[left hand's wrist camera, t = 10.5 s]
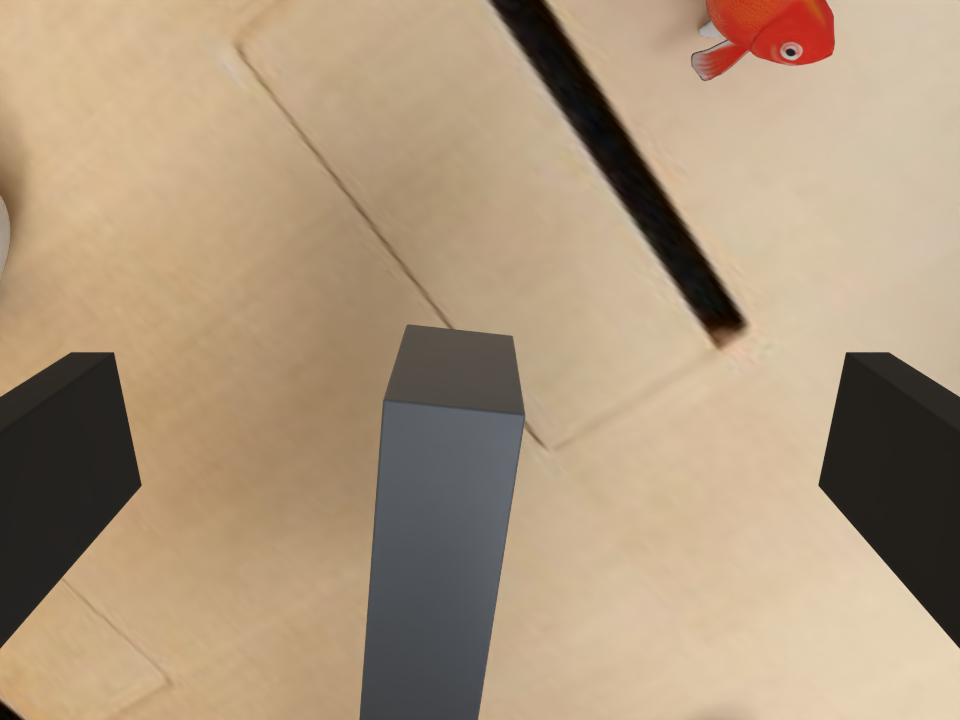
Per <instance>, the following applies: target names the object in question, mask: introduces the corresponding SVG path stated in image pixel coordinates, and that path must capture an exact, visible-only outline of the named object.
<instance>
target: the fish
mask: <svg viewBox="0 0 960 720" xmlns="http://www.w3.org/2000/svg"><path fill="white" fill-rule="evenodd" d="M706 5H707V10H708V13H709V16H710V20H709V21H708V22H707V23H706V24H705V25H703V26H702V27H701V28H700V29H699V34H700V35H701V36H704V37H711V38H722V39H727V40H726V41H724V42H722V43H719V44H717V45H716V46H714V47H712V48H710V49H707V50H704V51H700V52H696V53H693V54H692V57H691V62H692V67H693V68H694V70H695V71H696V72H697V73H698V75H699V76H700V78H701V79H702V80H704V81H707V80H711V79H712V78H714V77H716V76H718V75H721V74H723V73H724V72H725V71H727V70H728V69H729V68H730V67H732V66H733V65H734V64H735V63H736V62H737V61H739V60H740V59H741V58H742V57H743V56H744V55H745V54H746V53H747V52H749V51H750V52H752V54H754V55H755V56H756V57H759V58H762V59H766V60H769V61H772V62H776V63H780V64H785V65H789V66H794V65H804V64H810V63H814V62H817V61H820V60H823V59H825V58H827V57H829V56H831V55H832V53H833V50H834V45H835V39H834V16H833V13H832V11H831V9H830V8H829V6H828V4H827V2H826V0H706Z"/></svg>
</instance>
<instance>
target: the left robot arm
mask: <svg viewBox="0 0 960 720" xmlns="http://www.w3.org/2000/svg"><path fill="white" fill-rule="evenodd" d="M141 486H142V485H141V480H140V475H139V471H138V466H137V461H136V456H135V451H134V447H133V442H132V437H131V432H130V427H129V423H128V418H127V413H126V408H125V403H124V399H123V394H122V389H121V384H120V379H119V375H118V370H117V365H116V360H115V355H114V352H71V353H69V354H68V355H66V356H65V357H63V358H62V359H60V360H58V361H57V362H55V363H54V364H52V365H50V366H49V367H47V368H46V369H44V370H42V371H41V372H39V373H38V374H36V375H35V376H33V377H31V378H30V379H28V380H27V381H25V382H23V383H22V384H20V385H19V386H17V387H15V388H14V389H12V390H11V391H9V392H8V393H6V394H4V395H3V396H1V397H0V648H1V647H2V646H3V645H4V644H5V643H6V641H7V640H8V639H9V638H10V637H11V636H12V634H13V633H14V632H15V631H16V630H17V629H18V628H19V626H20V625H21V624H22V623H23V622H24V621H25V619H26V618H27V617H28V616H29V615H30V614H31V613H32V611H33V610H34V609H35V608H36V607H37V606H38V604H39V603H40V602H41V601H42V600H43V599H44V598H45V596H46V595H47V594H48V593H49V592H50V591H51V589H52V588H53V587H54V586H55V585H56V584H57V583H58V581H59V580H60V579H61V578H62V577H63V576H64V574H65V573H66V572H67V571H68V570H69V569H70V568H71V566H72V565H73V564H74V563H75V562H76V561H77V559H78V558H79V557H80V556H81V555H82V554H83V553H84V551H85V550H86V549H87V548H88V547H89V546H90V544H91V543H92V542H93V541H94V540H95V539H96V538H97V536H98V535H99V534H100V533H101V532H102V531H103V529H104V528H105V527H106V526H107V525H108V524H109V523H110V521H111V520H112V519H113V518H114V517H115V516H116V514H117V513H118V512H119V511H120V510H121V509H122V508H123V506H124V505H125V504H126V503H127V502H128V501H129V499H130V498H131V497H132V496H133V495H134V494H135V493H136V491H137V490H138V489H139V488H140V487H141ZM818 486H819V487H820V488H821V489H822V490H823V491H824V493H825V494H826V495H827V496H828V497H829V498H830V499H831V501H832V502H833V503H834V504H835V505H836V506H837V508H838V509H839V510H840V511H841V512H842V513H843V514H844V516H845V517H846V518H847V519H848V520H849V521H850V523H851V524H852V525H853V526H854V527H855V528H856V529H857V531H858V532H859V533H860V534H861V535H862V536H863V538H864V539H865V540H866V541H867V542H868V543H869V544H870V546H871V547H872V548H873V549H874V550H875V551H876V553H877V554H878V555H879V556H880V557H881V558H882V559H883V561H884V562H885V563H886V564H887V565H888V566H889V568H890V569H891V570H892V571H893V572H894V573H895V574H896V576H897V577H898V578H899V579H900V580H901V581H902V583H903V584H904V585H905V586H906V587H907V588H908V589H909V591H910V592H911V593H912V594H913V595H914V596H915V598H916V599H917V600H918V601H919V602H920V603H921V604H922V606H923V607H924V608H925V609H926V610H927V611H928V613H929V614H930V615H931V616H932V617H933V618H934V619H935V621H936V622H937V623H938V624H939V625H940V626H941V628H942V629H943V630H944V631H945V632H946V633H947V634H948V636H949V637H950V638H951V639H952V640H953V641H954V643H955V644H956V645H957V646H958V647H959V648H960V397H959V396H957V395H956V394H954V393H952V392H951V391H949V390H948V389H946V388H945V387H943V386H941V385H940V384H938V383H937V382H935V381H933V380H932V379H930V378H929V377H927V376H925V375H924V374H922V373H921V372H919V371H918V370H916V369H914V368H913V367H911V366H910V365H908V364H906V363H905V362H903V361H902V360H900V359H898V358H897V357H895V356H894V355H892V354H891V353H889V352H846V355H845V360H844V365H843V370H842V375H841V379H840V384H839V389H838V394H837V399H836V403H835V408H834V413H833V418H832V423H831V427H830V432H829V437H828V442H827V447H826V451H825V456H824V461H823V466H822V471H821V475H820V480H819V485H818Z"/></svg>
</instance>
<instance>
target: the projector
mask: <svg viewBox="0 0 960 720" xmlns="http://www.w3.org/2000/svg"><path fill="white" fill-rule="evenodd" d="M9 245H10V221H9V215H8V211H7V208H6V205H5V203H4V201H3V199H2V197H1V196H0V280H1V277H2V274H3V270H4V267H5V263H6V259H7V255H8V250H9Z"/></svg>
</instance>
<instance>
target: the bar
mask: <svg viewBox="0 0 960 720" xmlns="http://www.w3.org/2000/svg"><path fill="white" fill-rule="evenodd" d="M524 421H525V410H524V404H523V398H522V392H521V385H520V379H519V373H518V366H517V360H516V354H515V348H514V341H513V336H508V335H499V334H490V333H481V332H472V331H463V330H454V329H444V328H435V327H426V326H417V325H407V326H406V329H405V332H404V335H403V338H402V342H401V345H400V348H399V351H398V355H397V358H396V361H395V364H394V367H393V371H392V374H391V377H390V380H389V383H388V387H387V390H386V393H385V396H384V400H383V409H382V423H381V436H380V450H379V463H378V477H377V490H376V504H375V517H374V531H373V544H372V558H371V571H370V585H369V598H368V612H367V625H366V639H365V652H364V666H363V679H362V693H361V706H360V720H478V716H479V710H480V703H481V697H482V690H483V684H484V678H485V671H486V665H487V658H488V652H489V646H490V639H491V633H492V626H493V620H494V613H495V607H496V601H497V594H498V588H499V581H500V575H501V569H502V562H503V556H504V549H505V543H506V536H507V530H508V524H509V517H510V511H511V504H512V498H513V492H514V485H515V479H516V472H517V466H518V459H519V453H520V447H521V440H522V434H523V427H524Z"/></svg>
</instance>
